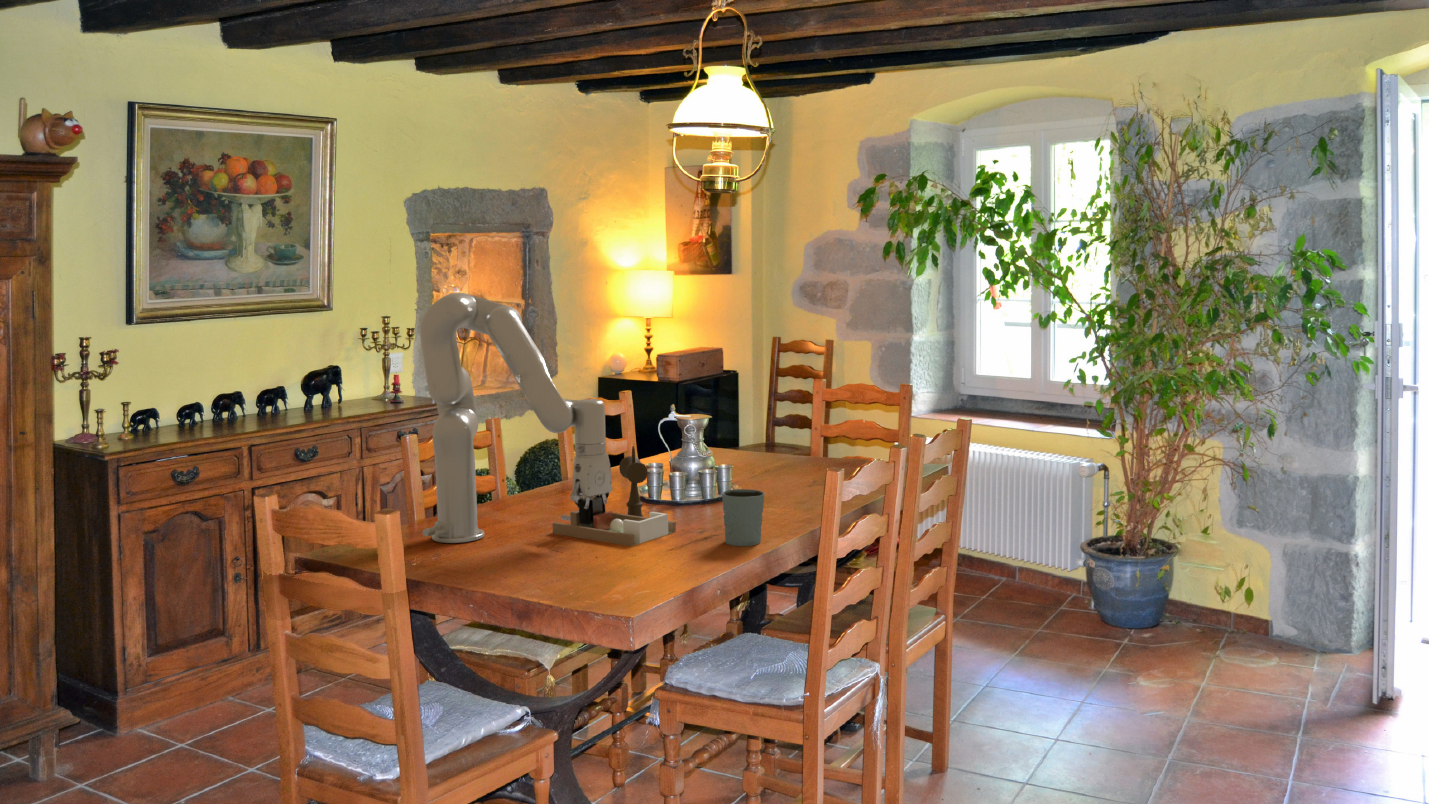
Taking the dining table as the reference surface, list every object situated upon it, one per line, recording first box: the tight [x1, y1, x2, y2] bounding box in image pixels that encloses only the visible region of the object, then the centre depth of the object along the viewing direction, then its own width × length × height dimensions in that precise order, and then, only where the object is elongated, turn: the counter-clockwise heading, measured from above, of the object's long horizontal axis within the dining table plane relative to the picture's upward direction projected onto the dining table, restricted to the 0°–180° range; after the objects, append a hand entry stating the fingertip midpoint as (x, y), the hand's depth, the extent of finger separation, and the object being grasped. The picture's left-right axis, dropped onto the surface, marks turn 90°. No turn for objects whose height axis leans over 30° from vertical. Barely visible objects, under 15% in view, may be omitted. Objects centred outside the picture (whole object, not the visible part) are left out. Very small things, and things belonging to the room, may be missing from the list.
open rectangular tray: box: [552, 509, 677, 547], centre depth 281 cm, size 17×25×6 cm
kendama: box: [618, 445, 649, 517], centre depth 297 cm, size 6×10×20 cm, turn 16°
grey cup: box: [721, 488, 765, 547], centre depth 274 cm, size 10×10×12 cm
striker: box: [560, 497, 613, 530], centre depth 286 cm, size 6×14×7 cm, turn 55°
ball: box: [610, 519, 623, 532], centre depth 280 cm, size 4×4×4 cm
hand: (592, 521), depth 285 cm, fingers open, 4 cm apart
